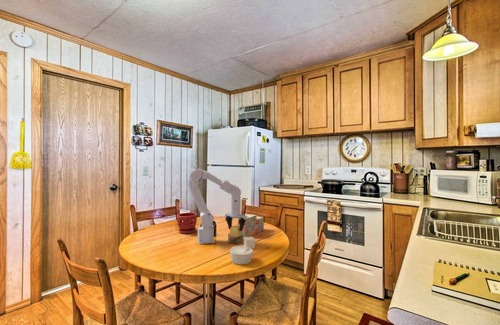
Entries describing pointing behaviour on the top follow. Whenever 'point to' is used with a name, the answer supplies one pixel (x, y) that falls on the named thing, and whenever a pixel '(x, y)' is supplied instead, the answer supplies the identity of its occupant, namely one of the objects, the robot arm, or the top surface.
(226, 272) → the top surface
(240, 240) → the walnut base block
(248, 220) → the stack of blocks
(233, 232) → the ochre block
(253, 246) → the off-white block
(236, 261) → the ramekin
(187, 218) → the plant pot
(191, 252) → the top surface
